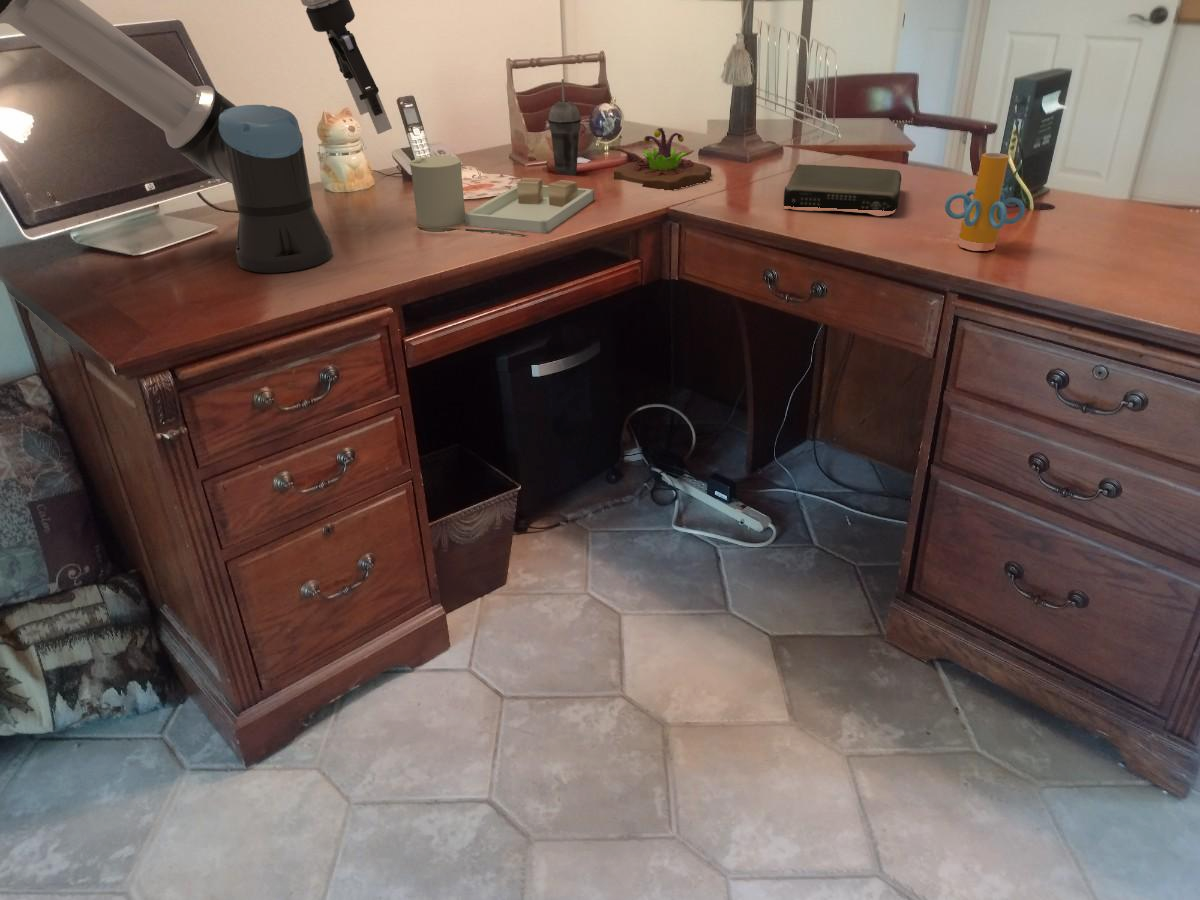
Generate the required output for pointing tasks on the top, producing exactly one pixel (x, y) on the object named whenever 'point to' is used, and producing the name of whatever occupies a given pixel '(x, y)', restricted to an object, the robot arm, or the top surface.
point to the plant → (663, 167)
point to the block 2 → (562, 192)
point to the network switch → (843, 188)
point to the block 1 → (530, 191)
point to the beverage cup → (565, 135)
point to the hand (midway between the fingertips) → (375, 121)
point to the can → (438, 192)
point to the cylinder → (986, 202)
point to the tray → (524, 213)
